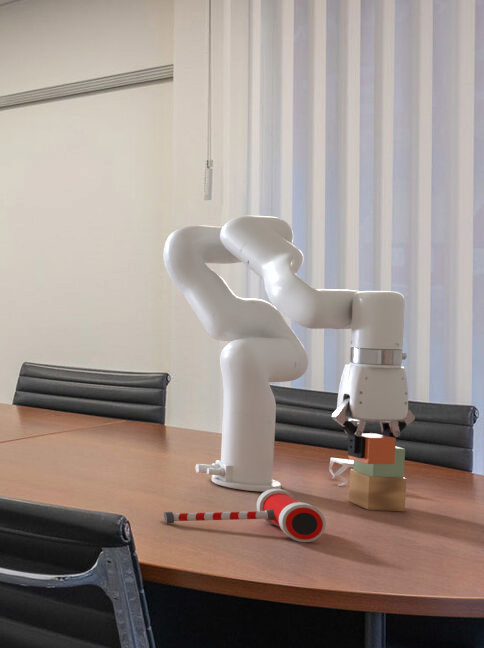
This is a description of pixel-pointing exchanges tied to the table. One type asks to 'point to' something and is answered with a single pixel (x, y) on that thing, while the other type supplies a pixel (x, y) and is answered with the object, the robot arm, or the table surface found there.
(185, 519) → the toy hammer
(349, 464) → the origami figure
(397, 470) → the middle block
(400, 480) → the base block
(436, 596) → the table surface
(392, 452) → the top block
